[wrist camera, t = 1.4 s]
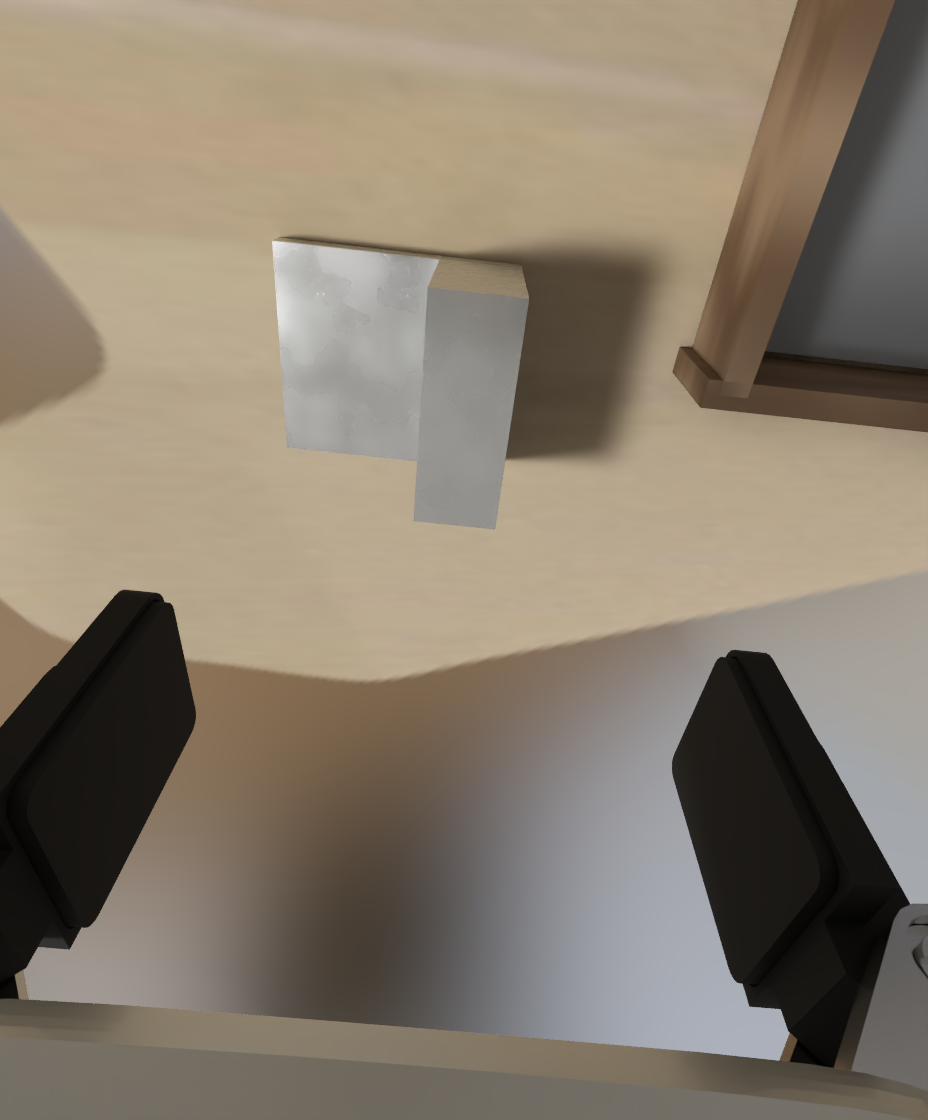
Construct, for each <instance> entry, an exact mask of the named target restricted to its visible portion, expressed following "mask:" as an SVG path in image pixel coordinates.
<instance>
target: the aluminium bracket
mask: <svg viewBox="0 0 928 1120" xmlns="http://www.w3.org/2000/svg"><path fill="white" fill-rule="evenodd" d="M272 246H273V259H274V273H275V287H276V301H277V315H278V328H279V342H280V356H281V370H282V384H283V397H284V411H285V425H286V439H287V447H288V448H298V449H307V450H317V451H327V452H336V453H346V454H355V455H365V456H374V457H384V458H393V459H403V460H412V461H417V474H416V491H415V508H414V521H419V522H429V523H438V524H448V525H458V526H468V527H478V528H487V529H495V526H496V519H497V513H498V506H499V499H500V493H501V486H502V479H503V472H504V466H505V459H506V452H507V445H508V439H509V432H510V425H511V419H512V412H513V405H514V398H515V392H516V385H517V378H518V371H519V365H520V358H521V351H522V345H523V338H524V331H525V324H526V318H527V311H528V304H529V295H528V291H527V287H526V283H525V279H524V275H523V271H522V267H521V265H519V264H510V263H502V262H493V261H484V260H475V259H466V258H458V257H449V256H440V255H431V254H422V253H414V252H405V251H396V250H387V249H378V248H369V247H361V246H352V245H343V244H334V243H325V242H317V241H308V240H299V239H290V238H281V237H279V238H277V239H275V240H273V241H272Z"/></svg>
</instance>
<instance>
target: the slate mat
mask: <svg viewBox="0 0 928 1120" xmlns="http://www.w3.org/2000/svg"><path fill="white" fill-rule="evenodd" d="M765 351H768V352H777V353H786V354H795V355H804V356H813V357H822V358H831V359H840V360H849V361H858V362H867V363H876V364H885V365H894V366H904V367H913V368H922V369H928V0H895V2H894V5H893V7H892V10H891V13H890V15H889V18H888V21H887V24H886V26H885V29H884V32H883V34H882V37H881V40H880V42H879V45H878V48H877V50H876V53H875V56H874V59H873V61H872V64H871V67H870V69H869V72H868V75H867V77H866V80H865V83H864V85H863V88H862V91H861V94H860V96H859V99H858V102H857V104H856V107H855V110H854V112H853V115H852V118H851V121H850V123H849V126H848V129H847V131H846V134H845V137H844V139H843V142H842V145H841V147H840V150H839V153H838V156H837V158H836V161H835V164H834V166H833V169H832V172H831V174H830V177H829V180H828V182H827V185H826V188H825V191H824V193H823V196H822V199H821V201H820V204H819V207H818V209H817V212H816V215H815V217H814V220H813V223H812V226H811V228H810V231H809V234H808V236H807V239H806V242H805V244H804V247H803V250H802V253H801V255H800V258H799V261H798V263H797V266H796V269H795V271H794V274H793V277H792V279H791V282H790V285H789V288H788V290H787V293H786V296H785V298H784V301H783V304H782V306H781V309H780V312H779V314H778V317H777V320H776V323H775V325H774V328H773V331H772V333H771V336H770V339H769V341H768V344H767V347H766V350H765Z"/></svg>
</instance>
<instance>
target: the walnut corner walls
mask: <svg viewBox="0 0 928 1120" xmlns="http://www.w3.org/2000/svg"><path fill="white" fill-rule="evenodd" d="M894 2H895V0H798V2H797V6H796V9H795V12H794V15H793V19H792V22H791V25H790V29H789V32H788V35H787V38H786V42H785V45H784V48H783V52H782V55H781V58H780V61H779V65H778V68H777V71H776V75H775V78H774V81H773V85H772V88H771V91H770V94H769V98H768V101H767V104H766V108H765V111H764V114H763V117H762V121H761V124H760V127H759V131H758V134H757V137H756V140H755V144H754V147H753V150H752V154H751V157H750V160H749V163H748V167H747V170H746V173H745V177H744V180H743V183H742V186H741V190H740V193H739V196H738V200H737V203H736V206H735V210H734V213H733V216H732V219H731V223H730V226H729V229H728V233H727V236H726V239H725V242H724V246H723V249H722V252H721V256H720V259H719V262H718V265H717V269H716V272H715V275H714V279H713V282H712V285H711V288H710V292H709V295H708V298H707V302H706V305H705V308H704V311H703V315H702V318H701V321H700V325H699V328H698V331H697V335H696V338H695V341H694V344H693V348H683V347H680V348H679V352H678V355H677V359H676V362H675V365H674V369H673V373H674V375H675V376H676V377H677V379H678V380H679V381H680V382H681V384H682V385H683V386H684V387H685V389H686V390H687V391H688V392H689V394H690V395H691V396H692V398H693V399H694V400H695V401H696V403H697V404H698V405H699V406H700V408H709V409H718V410H727V411H737V412H746V413H755V414H764V415H774V416H783V417H792V418H801V419H810V420H820V421H829V422H838V423H847V424H857V425H866V426H875V427H884V428H894V429H903V430H912V431H921V432H928V375H926V374H917V373H908V372H899V371H890V370H881V369H872V368H863V367H854V366H845V365H836V364H827V363H818V362H809V361H800V360H791V359H782V358H773V357H764V356H763V355H764V352H765V350H766V347H767V344H768V341H769V339H770V336H771V333H772V331H773V328H774V325H775V323H776V320H777V317H778V314H779V312H780V309H781V306H782V304H783V301H784V298H785V296H786V293H787V290H788V288H789V285H790V282H791V279H792V277H793V274H794V271H795V269H796V266H797V263H798V261H799V258H800V255H801V253H802V250H803V247H804V244H805V242H806V239H807V236H808V234H809V231H810V228H811V226H812V223H813V220H814V217H815V215H816V212H817V209H818V207H819V204H820V201H821V199H822V196H823V193H824V191H825V188H826V185H827V182H828V180H829V177H830V174H831V172H832V169H833V166H834V164H835V161H836V158H837V156H838V153H839V150H840V147H841V145H842V142H843V139H844V137H845V134H846V131H847V129H848V126H849V123H850V121H851V118H852V115H853V112H854V110H855V107H856V104H857V102H858V99H859V96H860V94H861V91H862V88H863V85H864V83H865V80H866V77H867V75H868V72H869V69H870V67H871V64H872V61H873V59H874V56H875V53H876V50H877V48H878V45H879V42H880V40H881V37H882V34H883V32H884V29H885V26H886V24H887V21H888V18H889V15H890V13H891V10H892V7H893V5H894Z"/></svg>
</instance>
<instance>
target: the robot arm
mask: <svg viewBox="0 0 928 1120" xmlns="http://www.w3.org/2000/svg"><path fill="white" fill-rule="evenodd" d="M195 719H196V710H195V705H194V701H193V696H192V692H191V687H190V683H189V677H188V673H187V668H186V664H185V659H184V654H183V650H182V645H181V640H180V636H179V631H178V626H177V622H176V617H175V613H174V609H173V606H172V605H171V603H166V602H164V600H163V597H162V596H161V595H160V594H158V593H152V592H142V591H132V590H122V591H120V592H118V593H117V594H116V595H115V596H114V598H113V599H112V600H111V601H110V602H109V604H108V605H107V606H106V607H105V608H104V610H103V611H102V612H101V613H100V614H99V615H98V617H97V618H96V619H95V620H94V621H93V623H92V624H91V625H90V626H89V627H88V629H87V630H86V631H85V632H84V633H83V635H82V636H81V637H80V638H79V639H78V640H77V642H76V643H75V644H74V645H73V646H72V648H71V649H70V650H69V651H68V653H67V654H66V655H65V656H64V657H63V658H62V660H61V661H60V662H59V663H58V664H57V665H56V666H54V667H53V668H52V669H51V670H49V671H48V672H47V673H46V674H45V675H44V676H43V678H42V679H41V680H40V681H39V682H38V684H37V685H36V686H35V687H34V688H33V689H32V691H31V692H30V693H29V694H28V695H27V697H26V698H25V699H24V700H23V701H22V702H21V704H20V705H19V706H18V707H17V708H16V710H15V711H14V712H13V713H12V714H11V715H10V717H9V718H8V719H7V720H6V721H5V722H4V724H3V725H2V726H1V727H0V1120H928V904H911V905H910V903H909V901H908V899H907V898H906V896H905V894H904V892H903V890H902V888H901V887H900V885H899V883H898V881H897V880H896V878H895V876H894V874H893V872H892V870H891V869H890V867H889V865H888V864H887V861H886V860H885V858H884V856H883V854H882V852H881V851H880V849H879V847H878V845H877V843H876V842H875V840H874V838H873V836H872V834H871V833H870V831H869V829H868V827H867V825H866V824H865V822H864V820H863V818H862V817H861V815H860V813H859V811H858V809H857V808H856V806H855V804H854V802H853V801H852V799H851V797H850V795H849V793H848V791H847V790H846V788H845V786H844V784H843V782H842V781H841V779H840V777H839V775H838V774H837V772H836V770H835V768H834V766H833V764H832V763H831V761H830V759H829V757H828V755H827V754H826V752H825V750H824V748H823V747H822V745H821V744H820V743H819V741H818V740H817V738H816V736H815V735H814V733H813V731H812V729H811V727H810V725H809V724H808V722H807V720H806V718H805V716H804V715H803V713H802V711H801V709H800V707H799V706H798V704H797V702H796V700H795V699H794V697H793V695H792V693H791V691H790V689H789V688H788V686H787V684H786V682H785V680H784V678H783V677H782V675H781V673H780V671H779V670H778V668H777V666H776V664H775V662H774V660H773V659H772V658H771V656H770V655H768V654H767V653H760V652H750V651H740V650H732V651H730V652H729V653H728V654H727V656H726V657H720V658H719V659H717V661H716V663H715V665H714V667H713V669H712V672H711V674H710V676H709V678H708V680H707V683H706V685H705V687H704V690H703V691H702V694H701V696H700V698H699V701H698V703H697V705H696V707H695V709H694V712H693V714H692V716H691V718H690V721H689V723H688V725H687V727H686V729H685V732H684V734H683V736H682V738H681V740H680V743H679V745H678V747H677V750H676V752H675V754H674V757H673V761H672V773H673V778H674V782H675V785H676V788H677V792H678V796H679V799H680V802H681V806H682V809H683V813H684V816H685V819H686V823H687V826H688V829H689V833H690V837H691V840H692V844H693V847H694V850H695V854H696V857H697V861H698V864H699V867H700V871H701V874H702V878H703V881H704V885H705V888H706V891H707V895H708V898H709V902H710V905H711V909H712V912H713V916H714V919H715V923H716V926H717V930H718V933H719V936H720V940H721V943H722V946H723V950H724V954H725V957H726V960H727V964H728V967H729V970H730V973H731V975H732V977H733V978H734V980H735V981H736V982H737V983H743V986H744V990H745V993H746V996H747V999H748V1003H749V1006H750V1007H762V1008H775V1009H781V1011H782V1014H783V1017H784V1020H785V1023H786V1026H787V1029H788V1031H789V1032H790V1034H789V1036H788V1039H787V1041H786V1044H785V1047H784V1050H783V1053H782V1055H781V1058H780V1060H779V1061H776V1060H766V1059H757V1058H747V1057H738V1056H729V1055H720V1054H710V1053H701V1052H690V1051H678V1050H667V1049H654V1048H643V1047H632V1046H621V1045H609V1044H598V1043H586V1042H574V1041H562V1040H551V1039H539V1038H528V1037H517V1036H505V1035H493V1034H481V1033H468V1032H455V1031H444V1030H432V1029H420V1028H408V1027H395V1026H383V1025H371V1024H359V1023H346V1022H333V1021H322V1020H309V1019H295V1018H283V1017H270V1016H257V1015H243V1014H230V1013H218V1012H205V1011H204V1012H203V1011H192V1010H179V1009H165V1008H152V1007H140V1006H127V1005H109V1004H92V1003H74V1002H57V1001H40V1000H29V998H28V993H27V988H26V982H25V977H24V971H23V970H24V969H25V968H26V967H27V965H28V963H29V962H30V960H31V958H32V956H33V955H34V953H35V951H36V949H37V948H38V947H47V948H59V949H70V948H71V946H72V944H73V942H74V940H75V938H76V937H77V934H78V933H79V931H80V929H81V927H83V928H86V927H89V926H90V925H91V924H92V923H93V922H94V921H95V920H96V918H97V916H98V915H99V913H100V911H101V909H102V907H103V905H104V903H105V901H106V899H107V897H108V895H109V893H110V891H111V889H112V887H113V886H114V884H115V882H116V880H117V877H118V876H119V874H120V872H121V870H122V868H123V866H124V864H125V862H126V860H127V858H128V856H129V854H130V852H131V850H132V848H133V846H134V844H135V843H136V841H137V839H138V837H139V834H140V833H141V831H142V829H143V827H144V825H145V823H146V821H147V819H148V817H149V815H150V813H151V811H152V809H153V807H154V805H155V803H156V801H157V799H158V798H159V796H160V794H161V791H162V790H163V788H164V786H165V784H166V782H167V780H168V778H169V776H170V774H171V772H172V770H173V768H174V766H175V764H176V762H177V760H178V758H179V757H180V755H181V752H182V751H183V749H184V747H185V745H186V743H187V741H188V739H189V737H190V735H191V733H192V731H193V728H194V724H195Z"/></svg>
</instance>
